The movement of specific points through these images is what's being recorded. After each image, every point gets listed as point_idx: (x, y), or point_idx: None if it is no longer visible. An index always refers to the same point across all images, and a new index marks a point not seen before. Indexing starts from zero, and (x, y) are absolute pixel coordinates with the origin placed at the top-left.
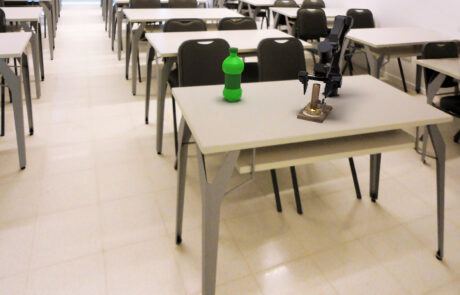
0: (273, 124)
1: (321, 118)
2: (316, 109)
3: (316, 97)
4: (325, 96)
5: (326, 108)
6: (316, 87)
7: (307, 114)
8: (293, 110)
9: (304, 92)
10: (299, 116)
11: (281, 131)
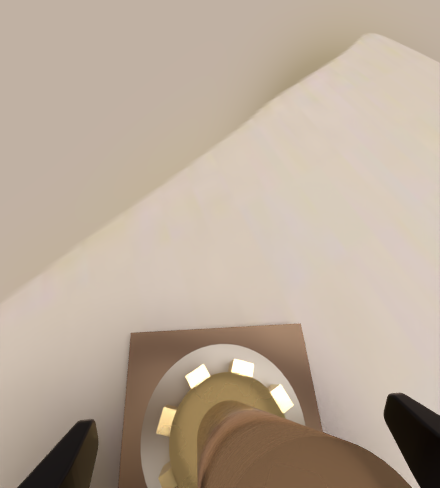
0: (336, 196)
1: (139, 354)
2: (199, 426)
3: (218, 423)
4: (75, 432)
5: None
6: (268, 436)
7: None
8: None
9: (412, 408)
10: (283, 325)
11: (271, 156)
